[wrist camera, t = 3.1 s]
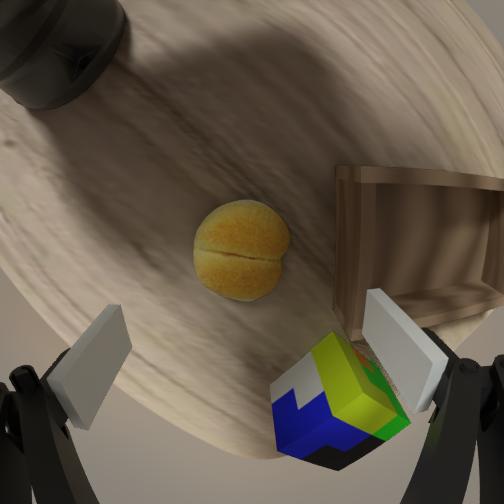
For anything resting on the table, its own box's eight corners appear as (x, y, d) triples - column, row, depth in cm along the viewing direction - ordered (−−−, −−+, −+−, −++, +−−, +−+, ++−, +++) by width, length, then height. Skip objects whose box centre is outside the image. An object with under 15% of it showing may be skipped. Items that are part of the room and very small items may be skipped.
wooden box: (332, 309, 29) (351, 341, 23) (335, 165, 24) (360, 166, 19) (480, 285, 29) (508, 303, 23) (493, 177, 25) (526, 183, 19)
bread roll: (295, 209, 26) (305, 216, 22) (270, 297, 28) (275, 317, 24) (206, 188, 25) (199, 192, 21) (188, 280, 27) (180, 298, 24)
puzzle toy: (269, 384, 31) (277, 450, 22) (332, 330, 29) (363, 392, 20) (321, 413, 34) (338, 471, 24) (379, 368, 32) (410, 422, 22)
